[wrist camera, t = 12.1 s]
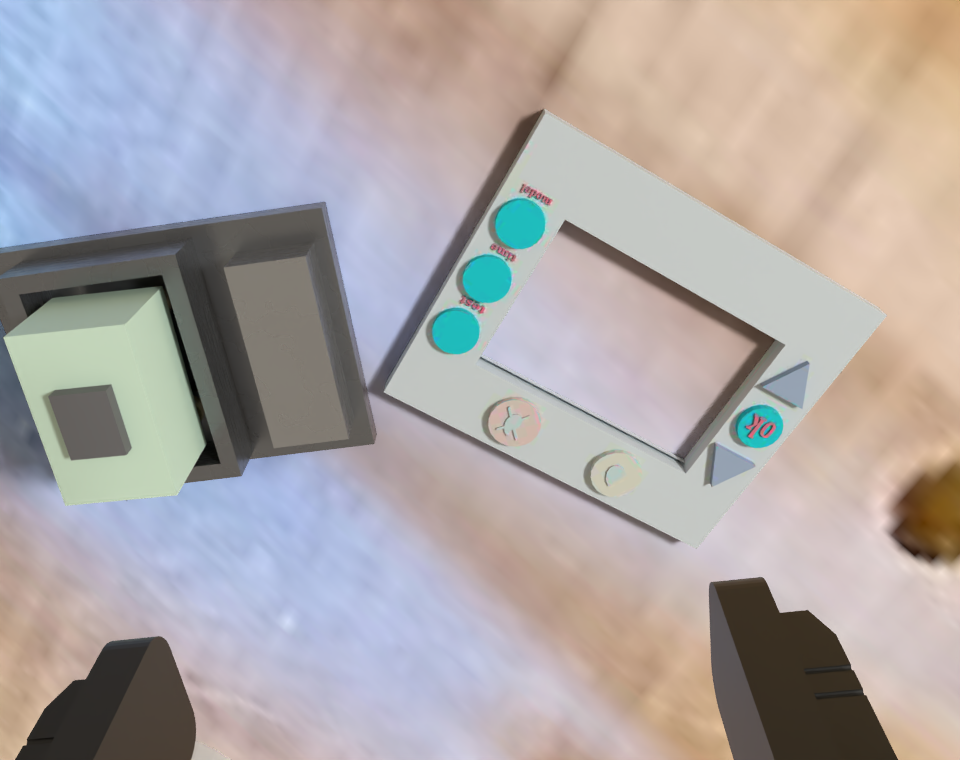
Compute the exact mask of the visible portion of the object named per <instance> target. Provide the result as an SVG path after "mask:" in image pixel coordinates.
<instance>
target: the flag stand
mask: <svg viewBox="0 0 960 760" xmlns="http://www.w3.org/2000/svg"><path fill="white" fill-rule="evenodd" d="M191 760H231V759H230V758H229V757H227V756H226V755H224V754H222V753H221V752H219V751H218V750H216V749H214V748H212V747H210V746H207V745H205V744H203V743H201V742H198V741H195V747H194V751H193V755H192V758H191Z"/></svg>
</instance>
